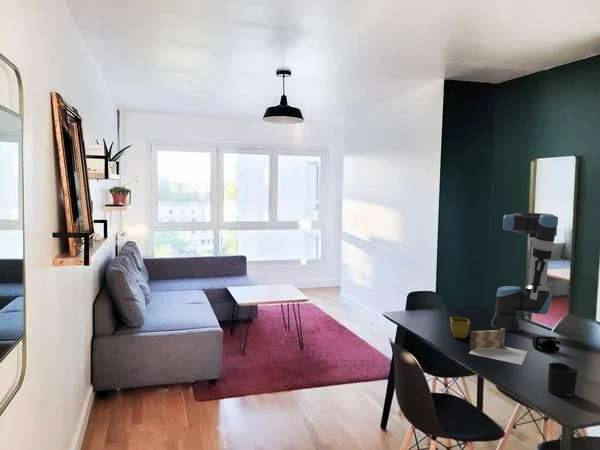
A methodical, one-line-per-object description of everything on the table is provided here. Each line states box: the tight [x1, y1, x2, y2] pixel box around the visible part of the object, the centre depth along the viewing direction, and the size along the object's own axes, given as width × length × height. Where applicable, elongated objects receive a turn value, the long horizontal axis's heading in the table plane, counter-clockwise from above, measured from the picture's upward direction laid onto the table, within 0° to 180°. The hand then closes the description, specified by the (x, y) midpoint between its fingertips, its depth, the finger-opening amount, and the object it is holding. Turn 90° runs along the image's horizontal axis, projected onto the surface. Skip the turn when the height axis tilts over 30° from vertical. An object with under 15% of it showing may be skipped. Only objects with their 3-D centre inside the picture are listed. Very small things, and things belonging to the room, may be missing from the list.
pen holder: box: [547, 362, 579, 399], centre depth 175 cm, size 9×9×10 cm
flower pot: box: [449, 316, 471, 339], centre depth 239 cm, size 9×9×9 cm
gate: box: [469, 328, 506, 350], centre depth 221 cm, size 19×2×9 cm, turn 108°
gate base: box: [468, 345, 528, 365], centre depth 217 cm, size 22×22×1 cm
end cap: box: [531, 336, 561, 355], centre depth 224 cm, size 10×7×7 cm
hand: (533, 298), depth 215 cm, fingers closed
